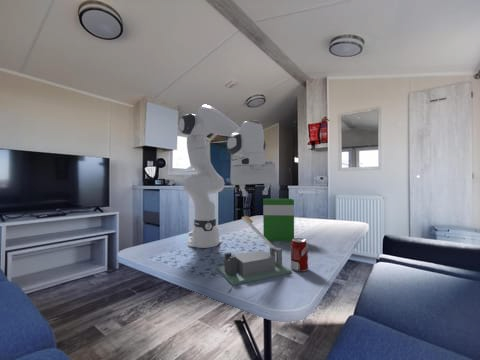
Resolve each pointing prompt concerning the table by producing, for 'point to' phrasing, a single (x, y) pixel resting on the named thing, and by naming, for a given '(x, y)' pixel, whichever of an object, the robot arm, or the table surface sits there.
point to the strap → (258, 232)
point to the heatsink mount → (253, 266)
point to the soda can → (299, 254)
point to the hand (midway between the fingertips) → (255, 195)
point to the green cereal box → (278, 219)
